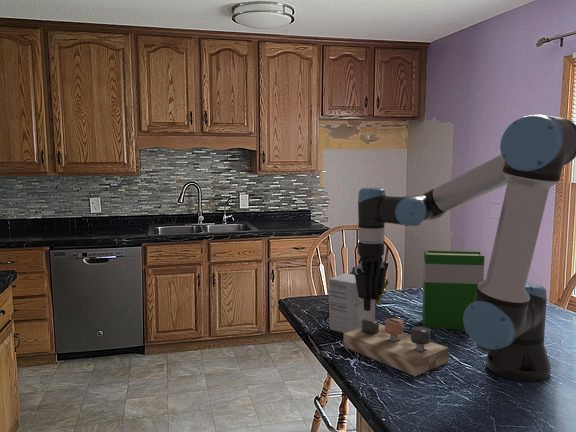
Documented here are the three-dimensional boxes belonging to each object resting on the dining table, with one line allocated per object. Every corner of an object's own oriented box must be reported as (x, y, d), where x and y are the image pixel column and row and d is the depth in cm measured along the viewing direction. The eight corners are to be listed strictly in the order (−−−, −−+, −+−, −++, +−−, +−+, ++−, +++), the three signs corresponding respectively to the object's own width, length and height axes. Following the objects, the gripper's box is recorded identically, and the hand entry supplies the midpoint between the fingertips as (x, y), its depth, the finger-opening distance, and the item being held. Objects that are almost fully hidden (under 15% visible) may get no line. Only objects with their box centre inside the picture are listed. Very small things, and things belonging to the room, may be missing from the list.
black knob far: (382, 344, 150) (382, 321, 150) (370, 348, 147) (370, 325, 147) (369, 339, 154) (369, 317, 154) (358, 343, 151) (358, 320, 150)
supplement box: (344, 321, 172) (344, 272, 169) (368, 327, 166) (369, 276, 164) (328, 329, 164) (328, 278, 162) (352, 335, 158) (353, 282, 156)
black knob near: (433, 355, 136) (434, 330, 135) (421, 360, 133) (422, 334, 132) (418, 350, 140) (418, 325, 139) (406, 354, 137) (407, 329, 136)
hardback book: (477, 322, 169) (479, 251, 166) (481, 330, 162) (484, 255, 159) (422, 320, 172) (423, 250, 169) (424, 327, 165) (426, 254, 162)
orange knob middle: (406, 345, 143) (407, 320, 142) (394, 350, 140) (395, 324, 139) (392, 340, 147) (393, 316, 146) (381, 344, 144) (381, 320, 143)
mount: (448, 362, 138) (448, 347, 137) (415, 376, 129) (415, 361, 129) (376, 335, 158) (376, 323, 158) (343, 346, 150) (343, 333, 149)
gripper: (376, 237, 154) (375, 312, 157) (345, 242, 146) (344, 321, 149) (396, 240, 148) (394, 319, 151) (364, 246, 140) (363, 328, 143)
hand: (369, 320), depth 150 cm, fingers closed
